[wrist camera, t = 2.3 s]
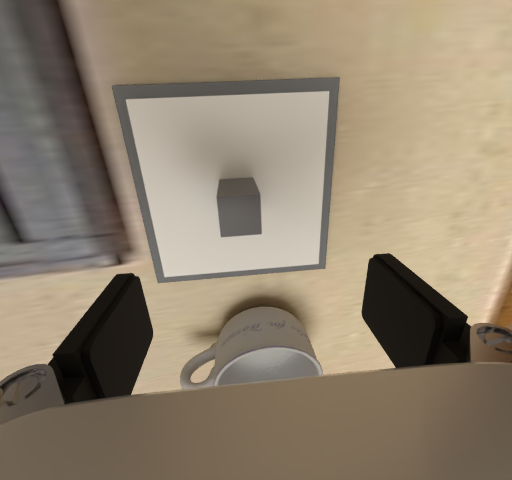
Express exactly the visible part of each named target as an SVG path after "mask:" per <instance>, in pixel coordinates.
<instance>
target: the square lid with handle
mask: <svg viewBox="0 0 512 480" xmlns="http://www.w3.org/2000/svg"><path fill="white" fill-rule="evenodd" d="M126 104H127V108H128V113H129V117H130V122H131V126H132V131H133V136H134V140H135V145H136V149H137V154H138V158H139V163H140V168H141V172H142V177H143V181H144V186H145V190H146V195H147V199H148V204H149V209H150V213H151V218H152V222H153V227H154V231H155V236H156V241H157V245H158V250H159V254H160V259H161V263H162V268H163V273H164V277H173V276H185V275H196V274H208V273H220V272H231V271H243V270H255V269H266V268H278V267H289V266H301V265H313V264H319V249H320V233H321V217H322V201H323V185H324V169H325V153H326V137H327V121H328V105H329V91H319V92H294V93H270V94H245V95H221V96H196V97H172V98H147V99H126Z"/></svg>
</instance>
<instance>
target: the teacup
mask: <svg viewBox="0 0 512 480" xmlns="http://www.w3.org/2000/svg"><path fill="white" fill-rule="evenodd" d="M213 359H215V366H214V367H213V368H212V370H211V372H210V374H209V376H208V377H207V379H206V380H204V381H203V382H200V383H193V382H191V380H190V377H191V375H192V374H193V372H194V371H195V370H196V369H198V368H199V367H200V366H202V365H203V364H205V363H207V362H209V361H211V360H213ZM317 375H323V371H322V368H321V365H320V363H319V362H318V360H317V358H316V356H315V353H314V350H313V348H312V345H311V342H310V340H309V338H308V336H307V333H306V331H305V329H304V328H303V326H302V324H301V323H300V322H299V321H298V319H296V318H295V317H294V316H293V315H292V314H290V313H289V312H287V311H285V310H282V309H279V308H275V307H256V308H251V309H248V310H245V311H243V312H241V313H239V314H237V315H235V316H234V317H233V318H232V319H230V320H229V321H228V322H227V323H226V325H225V326H224V327H223V329H222V330H221V332H220V335H219V337H218V341H217V342H216V343H214V344H213V345H212V346H211V347H210V348H209V349H207V350H205V351H203V352H201V353H200V354H198V355H196V356H195V357H193V358H192V359H191V360H189V361H188V362H187V363H186V364H185V366H184V367H183V369H182V371H181V375H180V383H181V386H182V389H190V388H200V387H209V386H219V385H228V384H237V383H247V382H257V381H267V380H277V379H287V378H297V377H307V376H317Z"/></svg>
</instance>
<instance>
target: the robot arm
mask: <svg viewBox="0 0 512 480" xmlns="http://www.w3.org/2000/svg"><path fill="white" fill-rule="evenodd" d="M362 317H363V319H364V321H365V322H366V324H367V325H368V327H369V328H370V330H371V331H372V333H373V334H374V336H375V337H376V339H377V340H378V342H379V343H380V345H381V346H382V348H383V349H384V351H385V352H386V354H387V355H388V357H389V358H390V360H391V361H392V362H393V364H394V365H395V367H396V368H390V369H379V370H369V371H358V372H348V373H337V374H327V375H317V376H307V377H297V378H287V379H277V380H267V381H257V382H247V383H237V384H228V385H219V386H209V387H200V388H190V389H181V390H172V391H162V392H153V393H144V394H135V395H131V393H132V390H133V388H134V385H135V383H136V380H137V377H138V375H139V372H140V370H141V367H142V364H143V362H144V359H145V357H146V354H147V351H148V349H149V346H150V344H151V341H152V338H153V328H152V324H151V320H150V317H149V313H148V309H147V305H146V301H145V297H144V293H143V289H142V285H141V282H140V278H139V277H138V276H135V275H134V274H133V273H127V274H117V275H116V276H115V277H114V278H113V279H112V280H111V282H110V283H109V284H108V286H107V287H106V288H105V289H104V291H103V292H102V293H101V294H100V296H99V297H98V298H97V299H96V301H95V302H94V303H93V304H92V306H91V307H90V308H89V309H88V311H87V312H86V313H85V314H84V316H83V317H82V318H81V319H80V321H79V322H78V323H77V325H76V326H75V327H74V328H73V330H72V331H71V332H70V333H69V335H68V336H67V337H66V338H65V340H64V341H63V342H62V343H61V345H60V346H59V347H58V348H57V350H56V351H55V352H54V353H53V358H52V360H51V361H50V362H49V364H48V365H46V364H36V365H32V366H28V367H25V368H23V369H20V370H18V371H16V372H14V373H12V374H11V375H9V376H7V377H6V378H4V379H3V380H2V381H0V480H512V330H510V329H508V328H505V327H502V326H499V325H495V324H490V323H478V324H474V325H473V326H470V325H468V324H467V323H466V321H467V318H468V316H467V315H465V314H464V313H463V312H462V311H460V310H459V309H458V308H457V307H456V306H454V305H453V304H452V303H451V302H449V301H448V300H447V299H446V298H444V297H443V296H442V295H441V294H440V293H438V292H437V291H436V290H435V289H433V288H432V287H431V286H430V285H428V284H427V283H426V282H425V281H423V280H422V279H421V278H420V277H419V276H417V275H416V274H415V273H414V272H412V271H411V270H410V269H409V268H407V267H406V266H405V265H404V264H402V263H401V262H400V261H399V260H398V259H396V258H395V257H394V256H393V255H391V254H390V253H388V254H375V255H374V256H373V258H371V259H370V260H369V264H368V271H367V278H366V285H365V292H364V299H363V306H362Z"/></svg>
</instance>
